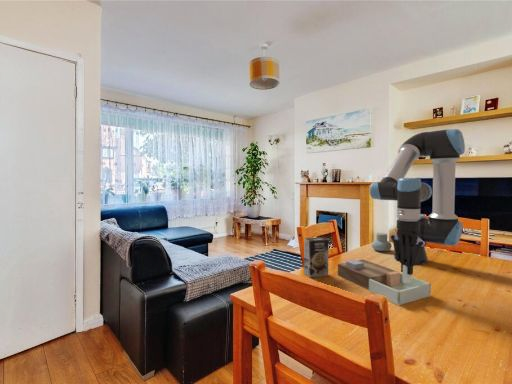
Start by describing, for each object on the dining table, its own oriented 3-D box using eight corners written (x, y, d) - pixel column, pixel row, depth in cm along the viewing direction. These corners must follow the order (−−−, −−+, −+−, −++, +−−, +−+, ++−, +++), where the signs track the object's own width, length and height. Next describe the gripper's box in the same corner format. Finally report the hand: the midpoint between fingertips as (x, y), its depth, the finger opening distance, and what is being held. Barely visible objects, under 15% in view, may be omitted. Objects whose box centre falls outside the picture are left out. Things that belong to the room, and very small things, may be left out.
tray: (398, 283, 111) (399, 272, 110) (430, 296, 99) (430, 283, 99) (368, 290, 104) (368, 279, 104) (398, 305, 92) (399, 292, 92)
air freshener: (378, 247, 166) (379, 231, 166) (392, 250, 160) (393, 233, 159) (369, 250, 159) (370, 233, 159) (384, 253, 153) (384, 236, 152)
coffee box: (310, 278, 118) (310, 241, 117) (303, 272, 124) (303, 237, 123) (328, 275, 120) (329, 239, 119) (321, 270, 126) (321, 236, 125)
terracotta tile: (395, 271, 109) (399, 272, 107) (395, 283, 109) (399, 285, 108) (386, 273, 107) (390, 274, 105) (386, 285, 107) (390, 287, 106)
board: (363, 270, 127) (363, 259, 127) (397, 283, 110) (397, 271, 110) (337, 275, 121) (337, 264, 120) (370, 290, 104) (370, 277, 104)
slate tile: (354, 264, 120) (355, 259, 120) (363, 267, 115) (363, 263, 115) (346, 265, 118) (346, 261, 118) (354, 269, 113) (354, 264, 113)
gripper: (386, 217, 105) (384, 277, 107) (418, 223, 93) (416, 290, 95) (399, 216, 108) (398, 274, 110) (432, 221, 96) (430, 286, 98)
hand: (406, 282), depth 102 cm, fingers closed
